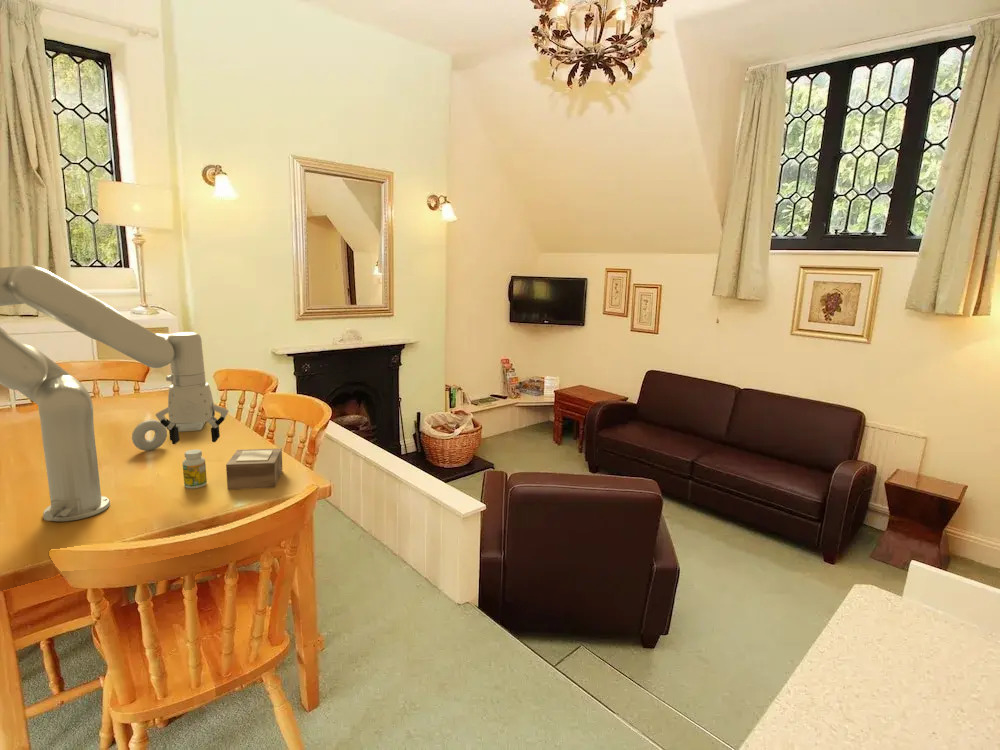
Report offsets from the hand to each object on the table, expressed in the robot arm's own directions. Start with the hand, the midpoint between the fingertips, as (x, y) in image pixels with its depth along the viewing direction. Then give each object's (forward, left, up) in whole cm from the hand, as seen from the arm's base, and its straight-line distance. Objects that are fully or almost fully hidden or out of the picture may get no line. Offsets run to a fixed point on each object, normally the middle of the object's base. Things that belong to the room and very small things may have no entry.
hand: (195, 441), depth 146 cm
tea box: (+58, +20, -13) cm, 62 cm away
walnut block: (+2, -14, -12) cm, 19 cm away
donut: (+31, +23, -13) cm, 40 cm away
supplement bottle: (0, +1, -13) cm, 12 cm away
